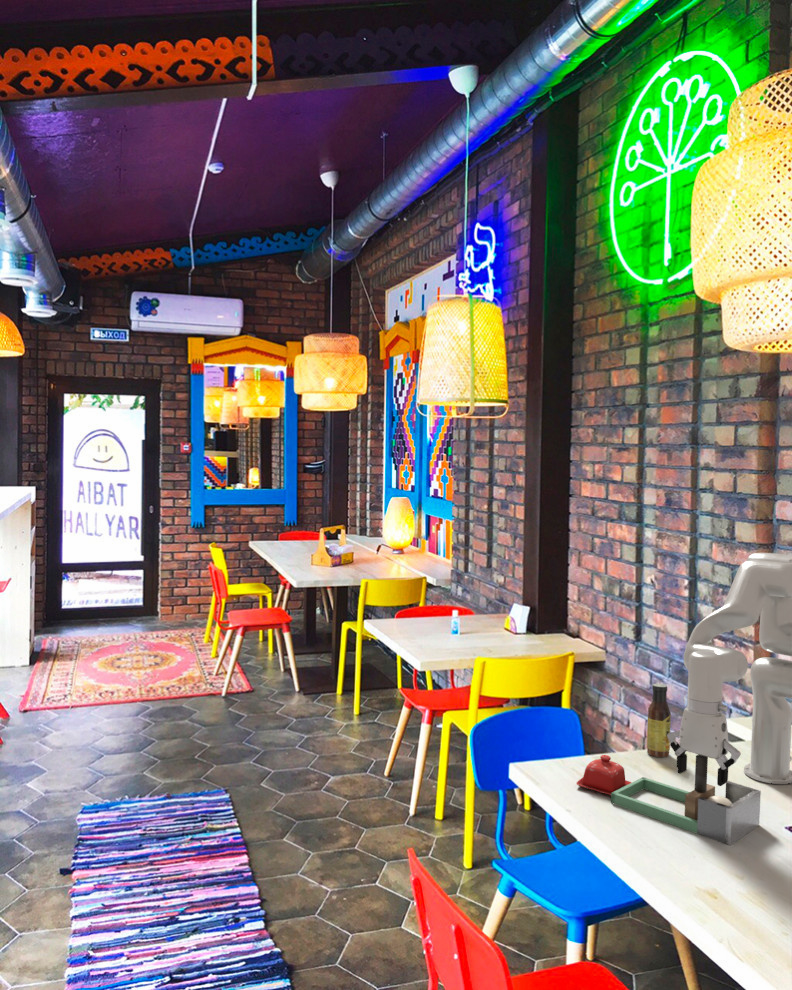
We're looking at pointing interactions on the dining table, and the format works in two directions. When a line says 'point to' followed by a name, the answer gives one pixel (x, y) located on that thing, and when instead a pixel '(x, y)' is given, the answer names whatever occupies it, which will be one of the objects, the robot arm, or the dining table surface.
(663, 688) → the sauce bottle
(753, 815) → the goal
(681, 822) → the frame
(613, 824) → the dining table surface
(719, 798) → the cream round ball
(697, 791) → the striker
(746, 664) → the robot arm
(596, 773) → the butter dish
